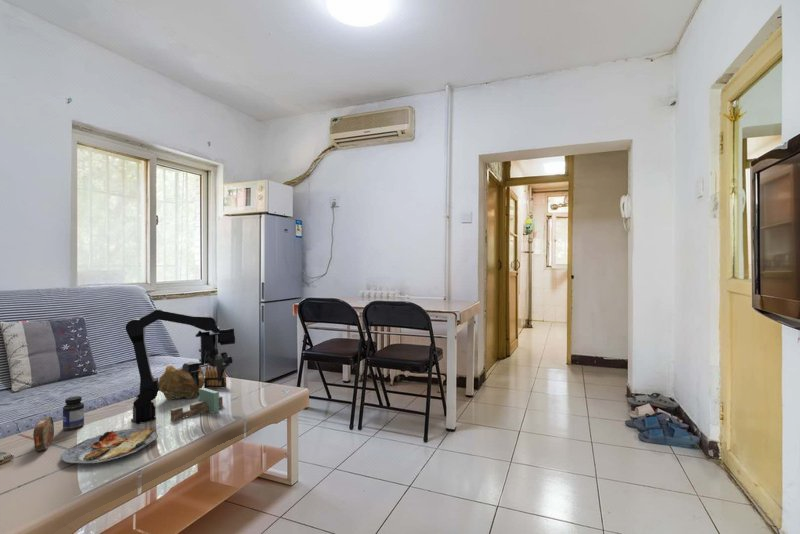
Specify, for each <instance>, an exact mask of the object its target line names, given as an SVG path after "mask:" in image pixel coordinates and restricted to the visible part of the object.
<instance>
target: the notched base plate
mask: <svg viewBox="0 0 800 534" xmlns="http://www.w3.org/2000/svg"><path fill="white" fill-rule="evenodd" d="M222 407H223V396H221V395H219V408H222ZM204 411H205V412H209V406H206V405H205V401H200V402H199V401H197V402H194V403H190V404H189V409H186V410H183V407H181V406H178V407H176V408H171V409H170V421H172V420H173V421H172V422H174V420H175V421H178V420H181V419H184V418H183V417H185V418H187V417H186V416H188V417H192V416H194V415H198V414H201V412H202V413H204ZM191 415H192V416H191ZM180 418H181V419H180ZM177 419H178V420H177Z"/></svg>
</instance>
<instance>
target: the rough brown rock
mask: <svg viewBox="0 0 800 534" xmlns="http://www.w3.org/2000/svg"><path fill="white" fill-rule="evenodd" d="M189 362H190V361H189ZM189 362H187V363H189ZM198 371H200V372H199V387H197V386H196V384H195V382H194V380H193V378H192V377H191V375H190V374H189V373H188V372H186V371H183V370H182V368H175V367H174V366H173V365H168V366H167V367H165V370H164V372H163V373H162V374H161V375H160V376H159V379H158V383H159V385H160V389H159V391H158V392H161V393H162V394H163V396H164V398H165V399H167V400H168V401H171V400H173V398H174V399H182V398H186V399H193V398H195V397H197V395H199V389H200V388H204V383H205V373H204V371H203V370H202V367H199V369H198Z"/></svg>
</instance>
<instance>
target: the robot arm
mask: <svg viewBox="0 0 800 534" xmlns="http://www.w3.org/2000/svg"><path fill="white" fill-rule="evenodd" d="M157 321H164V322H171V323H175V324H182V325H187V326H191V327H194V328H197V329H200V330H198V332H197V333H195V337H196V338H199V339H200V348H199V349H198V352H199V353H200V358H199V359H198V362H195V361H189V363H188V362H184V363H183V364H182V368H181V369H182V370H183V371H186V372H188V373H189V374H190V375H191V377H192V378H193V380H194V382H195V384H196V386H197V387H199V372H200V371H198V369H199V367H201V368H203V367H204V368H205V367H206V366H208V367H209V365H211V368H212V367H215V368H216V366H217V377H218V381H219V382H220V381H221V378H222V375H223V373H224V370H225V371H226V368H227V367H230V365H231V364H233V362H234V359H233V357H232V356H229V355H228V353H227V352H225V351H224V352H221V353H219V349H218V348H217V346H216V345H217V344H219V345H220V346H227V345H228V346H229V345H235V344H236V336H235V329H234V328H233V327H231V328H224V329H223V328H222V329H221V328H220V327H219V326H218V325H217V324H216V323H217V322H216V320H215V318H214V316H213V317H212V316H211V315H188V314H185V313H180V312H179V313H178V312H174V311H168V310H163V309H161V308H157V309H154V310H153V311H152V312H150V313H148V314H146V315H144V316H142V317H140V318H138V317H137V318H133V319H131V320H129V321H128V322H127V323H126V325H125V331H126V334H127V335H128V338H129V339H130V341H131V343H132V345H133V350H134V355H135V359H136V364H137V371H138V374H139V378H140V379H139V380H140V381H139V394H138V395H137V396H135V399H134V401H133V402H132V404H133V405H132V418H131V420H130V421H131V422H133V423H135V424H136V425H137V424H139V425H140V424H142V423H146V422H150V421H153V420H156V419H157V417H156V405H155V403H154V400H155V399H156V398H157V396H158V393H159V392H160V391H159V389H160V385H159V377H154V375H153V374H152V367H151V364H150V359H149V354H148V351H147V350H148V349H147V345H146V327H148V326H150V325H151V324H153V323H155V322H157ZM201 330H202V331H201ZM210 332H212V333H210ZM216 339H217V340H216ZM216 343H217V344H216Z"/></svg>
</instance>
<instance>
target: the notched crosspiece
mask: <svg viewBox="0 0 800 534" xmlns="http://www.w3.org/2000/svg"><path fill="white" fill-rule="evenodd" d="M219 393H220V392H219V391H216V390H214V389H211V388H204V387H202V388H200V389H199V392H198V402H200V401H205V405H206V406H209V410H208V412H209V411H210V413H212V412H213V413H212V414H217V413H219V412H220V407H219V396H220V394H219Z"/></svg>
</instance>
